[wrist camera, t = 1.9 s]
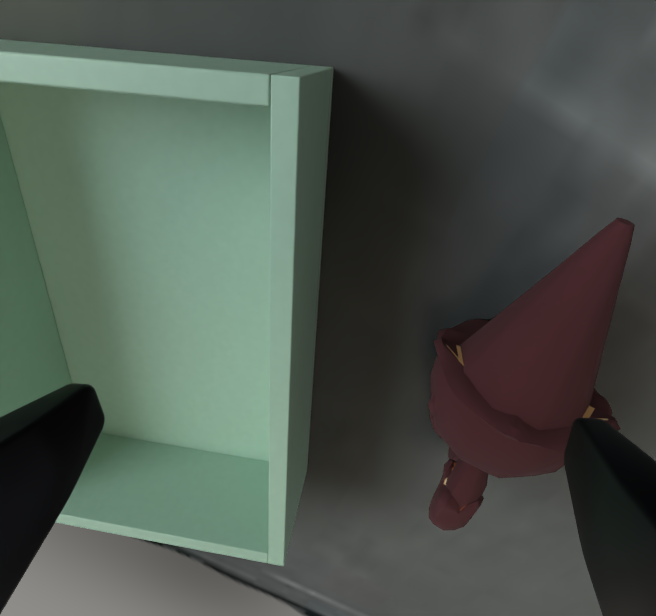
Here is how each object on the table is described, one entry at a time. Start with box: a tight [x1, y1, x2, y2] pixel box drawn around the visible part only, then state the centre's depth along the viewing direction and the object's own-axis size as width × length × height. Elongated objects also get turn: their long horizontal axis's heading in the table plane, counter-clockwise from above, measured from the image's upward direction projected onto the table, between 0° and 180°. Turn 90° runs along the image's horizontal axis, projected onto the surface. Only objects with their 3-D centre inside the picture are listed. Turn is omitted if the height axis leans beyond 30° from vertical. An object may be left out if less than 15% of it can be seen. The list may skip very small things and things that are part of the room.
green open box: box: [0, 39, 333, 566], centre depth 21 cm, size 15×22×6 cm
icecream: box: [428, 218, 635, 530], centre depth 19 cm, size 7×7×15 cm
